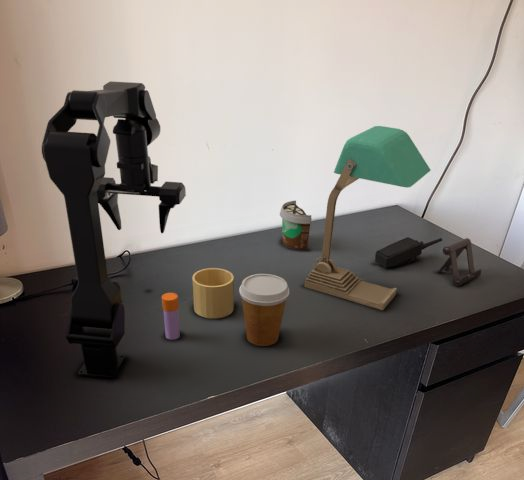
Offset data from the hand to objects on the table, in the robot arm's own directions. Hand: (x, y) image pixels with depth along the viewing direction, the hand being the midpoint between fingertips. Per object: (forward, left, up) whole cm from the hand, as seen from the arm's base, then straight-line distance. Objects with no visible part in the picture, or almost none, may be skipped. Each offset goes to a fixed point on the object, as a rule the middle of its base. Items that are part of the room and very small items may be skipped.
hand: (141, 231), depth 111 cm
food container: (+33, -30, -15) cm, 47 cm away
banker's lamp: (+8, -46, -15) cm, 49 cm away
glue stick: (-16, -10, -15) cm, 24 cm away
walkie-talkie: (+29, -61, -15) cm, 69 cm away
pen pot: (-4, -16, -15) cm, 22 cm away
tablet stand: (+21, -72, -15) cm, 76 cm away
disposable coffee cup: (-14, -28, -15) cm, 34 cm away
